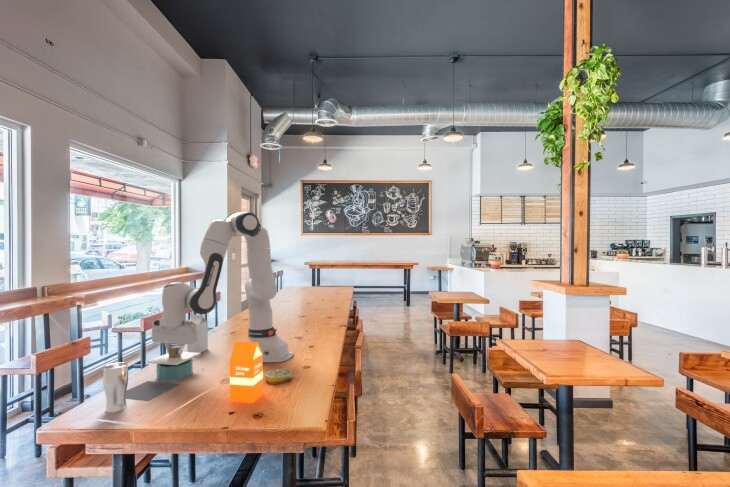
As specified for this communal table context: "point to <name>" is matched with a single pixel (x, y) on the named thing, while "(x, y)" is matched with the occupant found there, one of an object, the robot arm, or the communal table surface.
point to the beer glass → (115, 386)
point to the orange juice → (246, 372)
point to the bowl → (174, 371)
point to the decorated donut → (278, 376)
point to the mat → (149, 390)
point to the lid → (174, 357)
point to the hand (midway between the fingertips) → (174, 353)
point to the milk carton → (199, 334)
